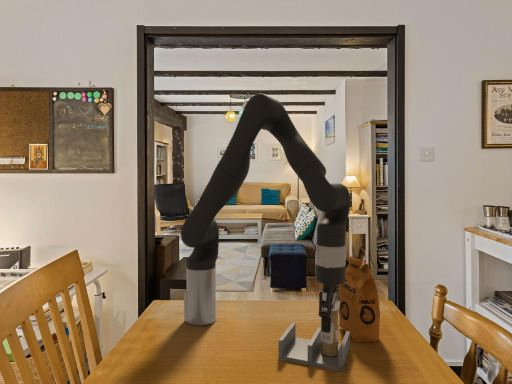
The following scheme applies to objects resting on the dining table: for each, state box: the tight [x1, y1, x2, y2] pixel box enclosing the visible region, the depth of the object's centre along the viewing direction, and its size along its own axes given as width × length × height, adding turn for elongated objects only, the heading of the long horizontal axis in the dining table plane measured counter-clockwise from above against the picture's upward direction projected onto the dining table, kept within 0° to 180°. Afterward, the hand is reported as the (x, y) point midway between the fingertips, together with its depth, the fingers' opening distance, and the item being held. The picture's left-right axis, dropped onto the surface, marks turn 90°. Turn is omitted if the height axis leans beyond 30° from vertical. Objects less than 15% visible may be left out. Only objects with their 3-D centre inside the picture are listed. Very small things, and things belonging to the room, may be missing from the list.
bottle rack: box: [277, 322, 351, 372], centre depth 99 cm, size 16×12×5 cm
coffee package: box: [338, 256, 381, 343], centre depth 111 cm, size 10×12×22 cm
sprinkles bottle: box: [321, 300, 340, 356], centre depth 97 cm, size 5×5×13 cm
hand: (329, 325), depth 97 cm, fingers open, 8 cm apart
